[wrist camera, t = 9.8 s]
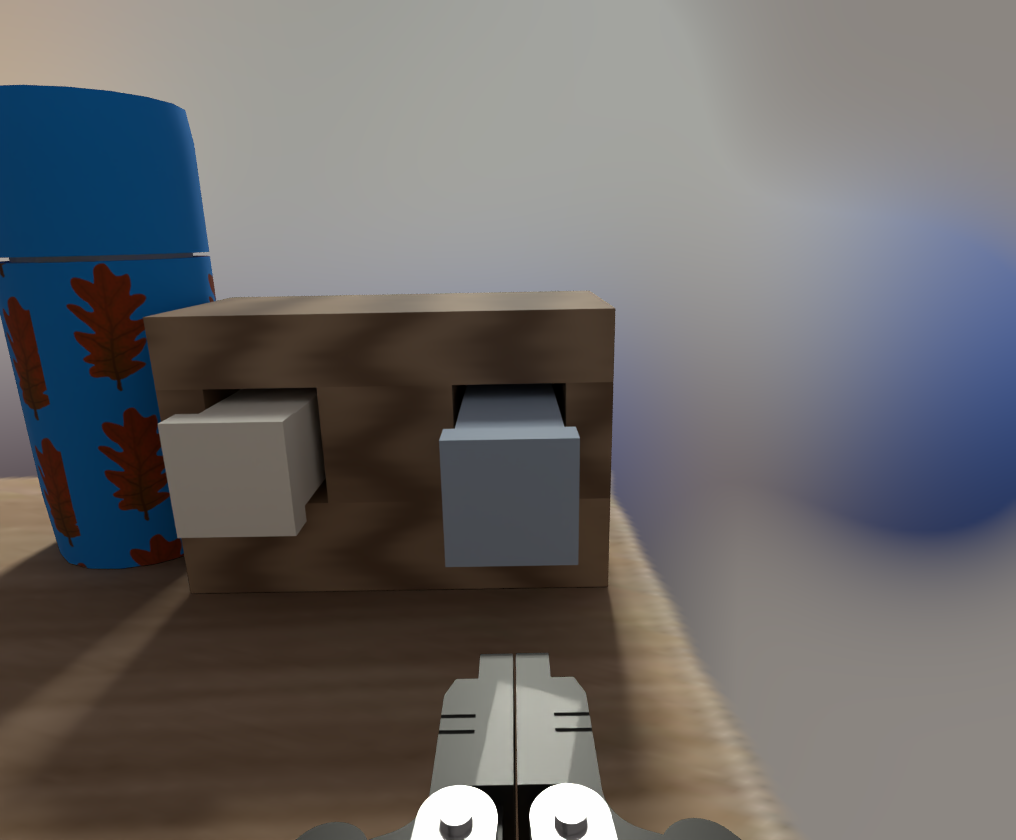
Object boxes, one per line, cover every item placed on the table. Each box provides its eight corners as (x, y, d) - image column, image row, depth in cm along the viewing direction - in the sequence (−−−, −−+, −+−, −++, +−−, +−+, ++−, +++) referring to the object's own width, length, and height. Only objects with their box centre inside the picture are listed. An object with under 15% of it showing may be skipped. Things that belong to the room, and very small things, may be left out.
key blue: (445, 567, 25) (438, 440, 24) (464, 466, 36) (461, 375, 35) (578, 564, 25) (579, 438, 24) (557, 464, 36) (556, 373, 35)
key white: (177, 538, 28) (157, 423, 27) (270, 452, 39) (260, 368, 38) (296, 535, 28) (282, 421, 27) (356, 451, 39) (348, 367, 38)
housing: (190, 593, 34) (143, 317, 30) (260, 514, 44) (231, 297, 40) (607, 586, 34) (615, 308, 30) (585, 508, 43) (589, 290, 39)
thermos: (254, 544, 39) (191, 94, 32) (43, 589, 35) (-82, 75, 28) (237, 486, 49) (186, 127, 42) (70, 515, 44) (-19, 117, 37)
